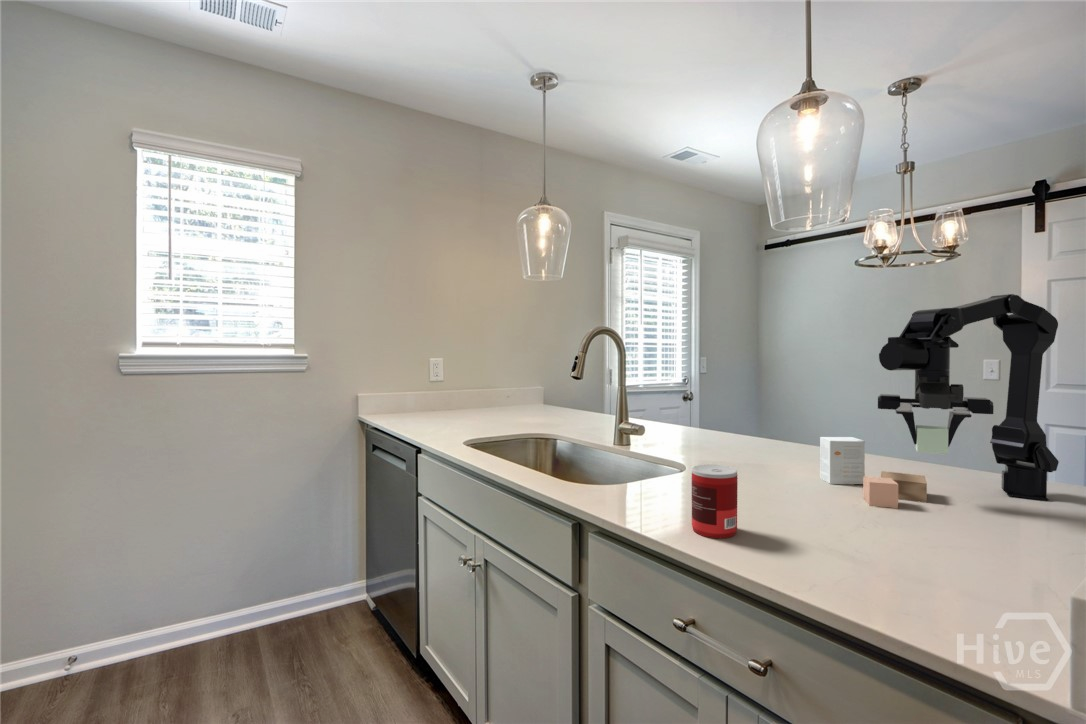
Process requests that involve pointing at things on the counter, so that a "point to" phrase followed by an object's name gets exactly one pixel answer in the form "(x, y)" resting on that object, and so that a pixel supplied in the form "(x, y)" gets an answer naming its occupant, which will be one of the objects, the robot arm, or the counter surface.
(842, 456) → the small box
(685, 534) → the counter surface
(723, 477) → the canned food
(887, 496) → the terracotta cube
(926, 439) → the sage cube
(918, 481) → the walnut block
